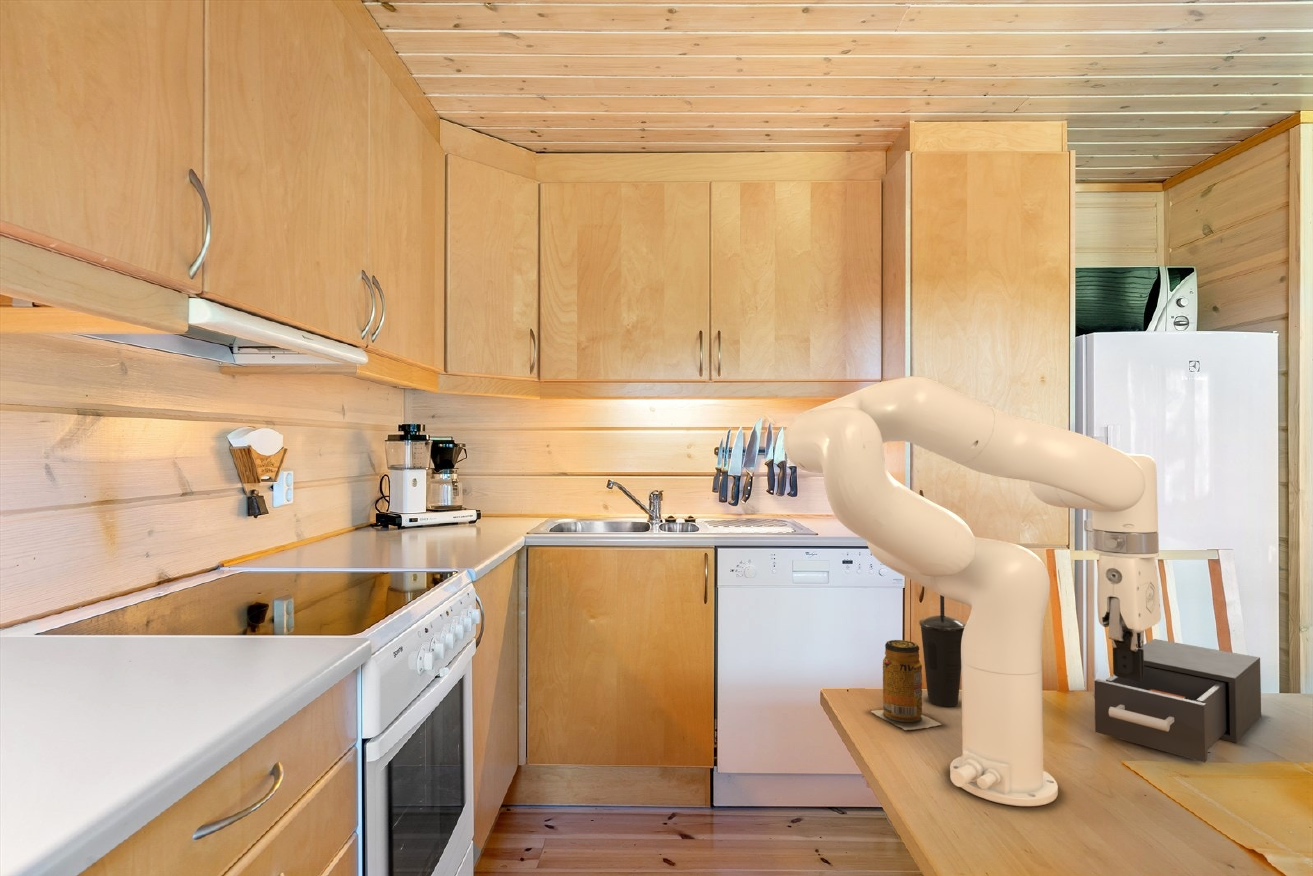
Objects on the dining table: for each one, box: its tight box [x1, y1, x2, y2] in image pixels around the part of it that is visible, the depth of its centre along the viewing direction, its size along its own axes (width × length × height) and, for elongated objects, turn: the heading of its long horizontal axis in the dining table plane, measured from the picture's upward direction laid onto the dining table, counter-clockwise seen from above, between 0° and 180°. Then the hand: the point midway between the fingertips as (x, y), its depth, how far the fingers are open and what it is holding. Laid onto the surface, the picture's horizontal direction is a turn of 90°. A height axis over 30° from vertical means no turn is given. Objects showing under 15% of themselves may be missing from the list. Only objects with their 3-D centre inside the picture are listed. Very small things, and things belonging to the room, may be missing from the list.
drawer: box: [1093, 665, 1227, 764], centre depth 103 cm, size 20×13×8 cm
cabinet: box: [1138, 638, 1262, 744], centre depth 113 cm, size 17×15×10 cm
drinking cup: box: [918, 595, 966, 708], centre depth 119 cm, size 8×8×20 cm
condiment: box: [870, 639, 943, 731], centre depth 112 cm, size 7×8×12 cm
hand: (1128, 677), depth 94 cm, fingers closed
